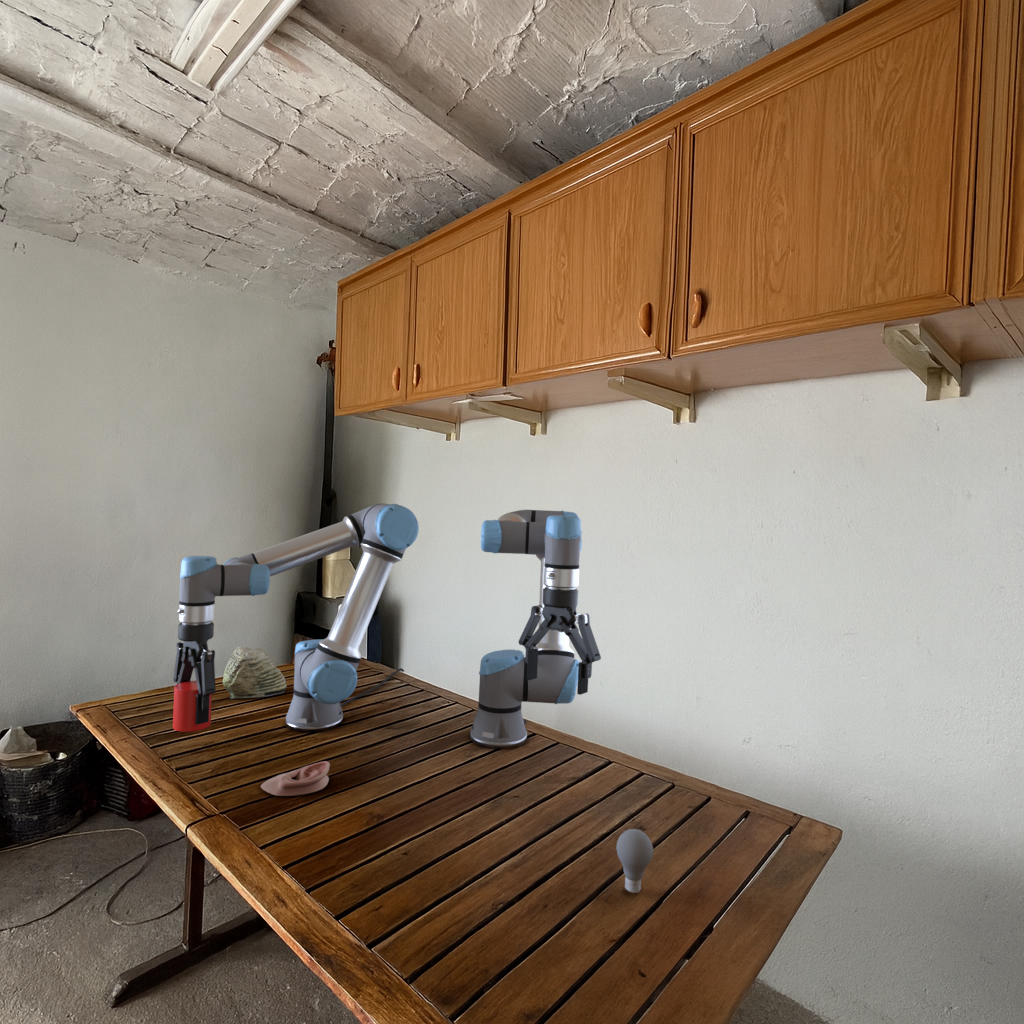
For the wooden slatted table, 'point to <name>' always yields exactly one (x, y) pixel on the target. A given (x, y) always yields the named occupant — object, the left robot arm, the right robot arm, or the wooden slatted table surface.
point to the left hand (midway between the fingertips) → (192, 718)
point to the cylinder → (187, 707)
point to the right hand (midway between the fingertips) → (556, 685)
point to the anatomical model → (299, 780)
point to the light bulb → (634, 857)
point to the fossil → (252, 674)
